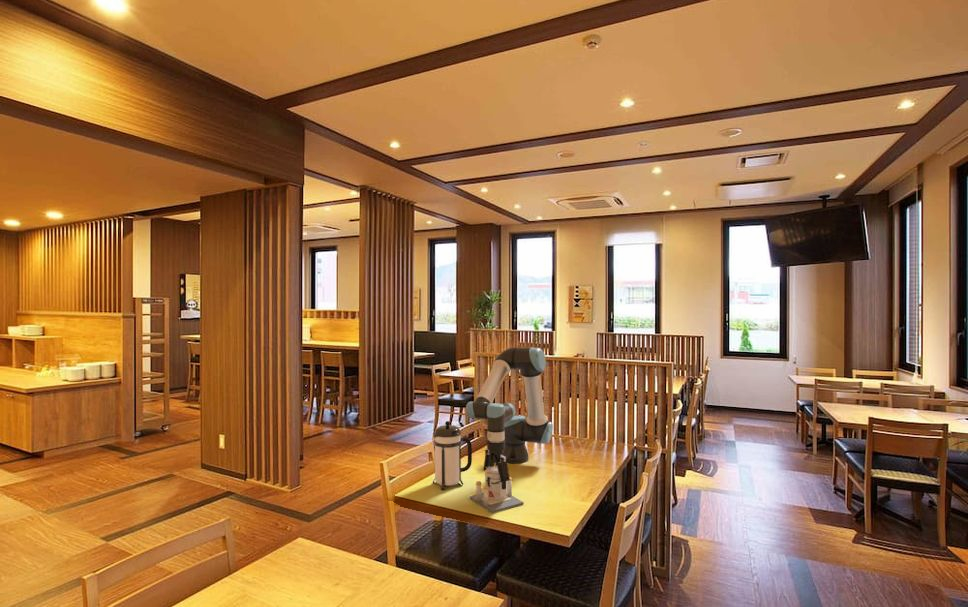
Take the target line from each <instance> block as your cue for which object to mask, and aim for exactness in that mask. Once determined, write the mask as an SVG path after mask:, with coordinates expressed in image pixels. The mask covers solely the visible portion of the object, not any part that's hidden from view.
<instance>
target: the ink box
mask: <svg viewBox="0 0 968 607" xmlns="http://www.w3.org/2000/svg"><path fill="white" fill-rule="evenodd" d="M486 468H487V467H486ZM484 472H485V473H484V474H485V476H484V481H485V485H484V486H489V489H488V493H489V497H493V498H501V499H504V498H505V497H506V496H503V497H500V484H499V481H501V480H500V476H499V472H498V468H497V466H495V465H494V466H490V467H489V466H488V468H487V469H486V470H485V471H484ZM506 495H507V481H506Z"/></svg>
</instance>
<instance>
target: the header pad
mask: <svg viewBox="0 0 968 607" xmlns="http://www.w3.org/2000/svg"><path fill="white" fill-rule="evenodd" d="M512 480H513V478H512V477H511V476H509V481H507V495H506V497H505V498H504V499H501V498H493V497H489V493H488V489H489V486H485V485H483V492H482V481H476V482H475V485H476V486H475V487H476V488H475V494H474V495H469V499H470V501H472V502H474V503H475V504H477V505H479V506H480V507H481V508H483V509H485V510H486V511H488V512H489V513H491V514H495V513H499V512H502V511H506V510H509V509H512V508H515V507H520V506H524V504H525V502H524V501H522V500H520V499H519V498H517V497H515V496H514V495H513V494H512V493H513V490H512V488H513V486H512Z"/></svg>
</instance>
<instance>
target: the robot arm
mask: <svg viewBox="0 0 968 607" xmlns="http://www.w3.org/2000/svg"><path fill="white" fill-rule="evenodd" d="M546 362H547V361H546V356H545V353H544V351H543V350H542V349H541V348H539V347H537V348H536V347H532V346H531V347H519V346H518V347H517V346H513V347H512V346H511V347H509V348H506V349H504V350H502V352H500V353H499V354H498V355H497V356H496V357H495V359H494V360H493V362H492V364H491V365H492V368H491V370H490V372H489V374H488V376H487V378H486V380H485V382H484V383H483V385H482V387H481V389H480V391H479V393H478V395H477V396H476V398H475V400H474V401H469V402H467V404H466V406H465V413H466V417H468V418H470V419H474V420H477V419H478V420H485V421H486V428H487V429H486V431H487V432H486V433H487V434H486V436H487V437H486V439H487V441H486V443H487V444H486V449H485V450H484V451H485V452H484V462H483V471H484V472H485V470H486V469H487V468H488V466H489V467H490V466H494V467H497V468H498V472H499V476H500V480H501V481H499V484H500V497H503V496H506V481H509V477H510V472H509V467H508V464H522V463H526V462H528V461H529V452H528V450H527V447H526V442H527V443H535V444H541V445H542V444H545V445H546V444H549V442H550V441H551V439H552V436H553V429H554V428H553V427H554V424H553V422H552V421H549V417H548V415H546V414H545V406H544V397H543V389H542V381H541V375H542V374H543V372H544V371H545V369H546V366H547V364H546ZM514 370H516V371H519V374H520V376H521V377H522V378H523V382H524V389H525V390H524V391H525V398H526V406H527V415H528V416H527V417H526V416H525V415H516V413H517V412H516V408H515V406H514V404H512V403H510V402H504V403H498V402H495V403H493V402H494V400H495V397H496V395H497V393H498V392H499V389H500V388H501V386H502V383H503V381H504V379H505V377H506V375H508V374H509V373H510V372H511V371H514Z"/></svg>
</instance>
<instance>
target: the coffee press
mask: <svg viewBox="0 0 968 607" xmlns="http://www.w3.org/2000/svg"><path fill="white" fill-rule="evenodd" d="M450 424H451V422H450V421H449V420H447V421H445V423H444V425H443V424H442V425H440V426H438V427H436V428H435V430H434V432H433V436H432V439H431V440H432V441H433V442H434V443H433V444H434V479H433V481H432V484H434V485H435V484H438V485H440V486H441V487H440V490H441V491H445V490H446V486H454V485H458V486H459V487H463V485H464V482H463V481H462V473H463V472H467V471H468V470H469V469H470V468H471V467H472V462H473V457H472V456H473V449H472V448H473V447H472V446H473V445H472V442H471V440H470V439H469V438H468V437H461V435H462V431H461V429H460V427H458V426H457V425H454V424H453V425H452V424H451V425H450ZM462 442H466V445H467V463H466V465H465V466H464V467H462V465H461V463H462V459H461V458H462V454H461V450H462V448H461V445H462V444H461V443H462Z"/></svg>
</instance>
